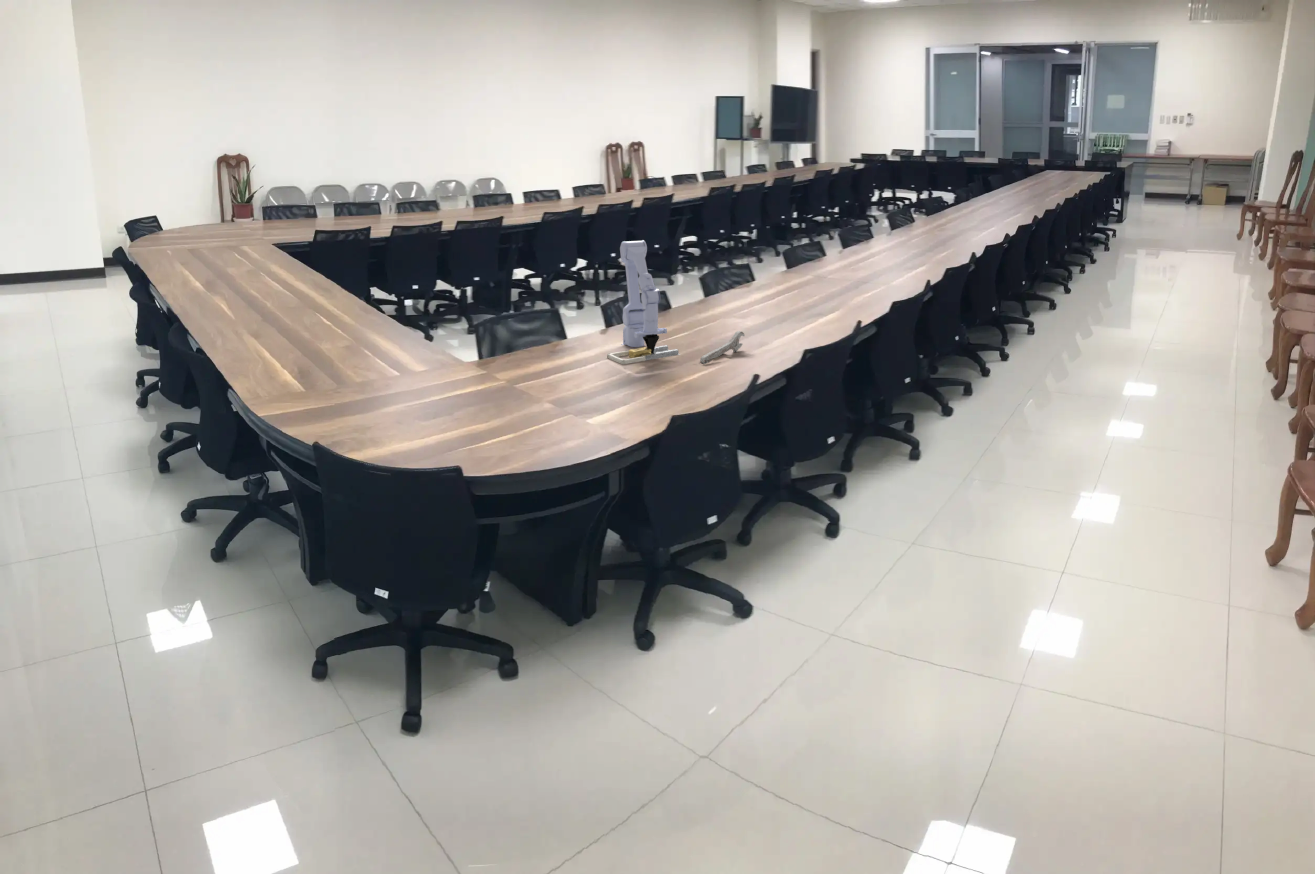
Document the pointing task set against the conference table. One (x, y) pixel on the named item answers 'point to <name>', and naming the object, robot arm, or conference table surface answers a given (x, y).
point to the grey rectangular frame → (615, 357)
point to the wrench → (724, 348)
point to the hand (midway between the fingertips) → (650, 352)
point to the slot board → (661, 353)
